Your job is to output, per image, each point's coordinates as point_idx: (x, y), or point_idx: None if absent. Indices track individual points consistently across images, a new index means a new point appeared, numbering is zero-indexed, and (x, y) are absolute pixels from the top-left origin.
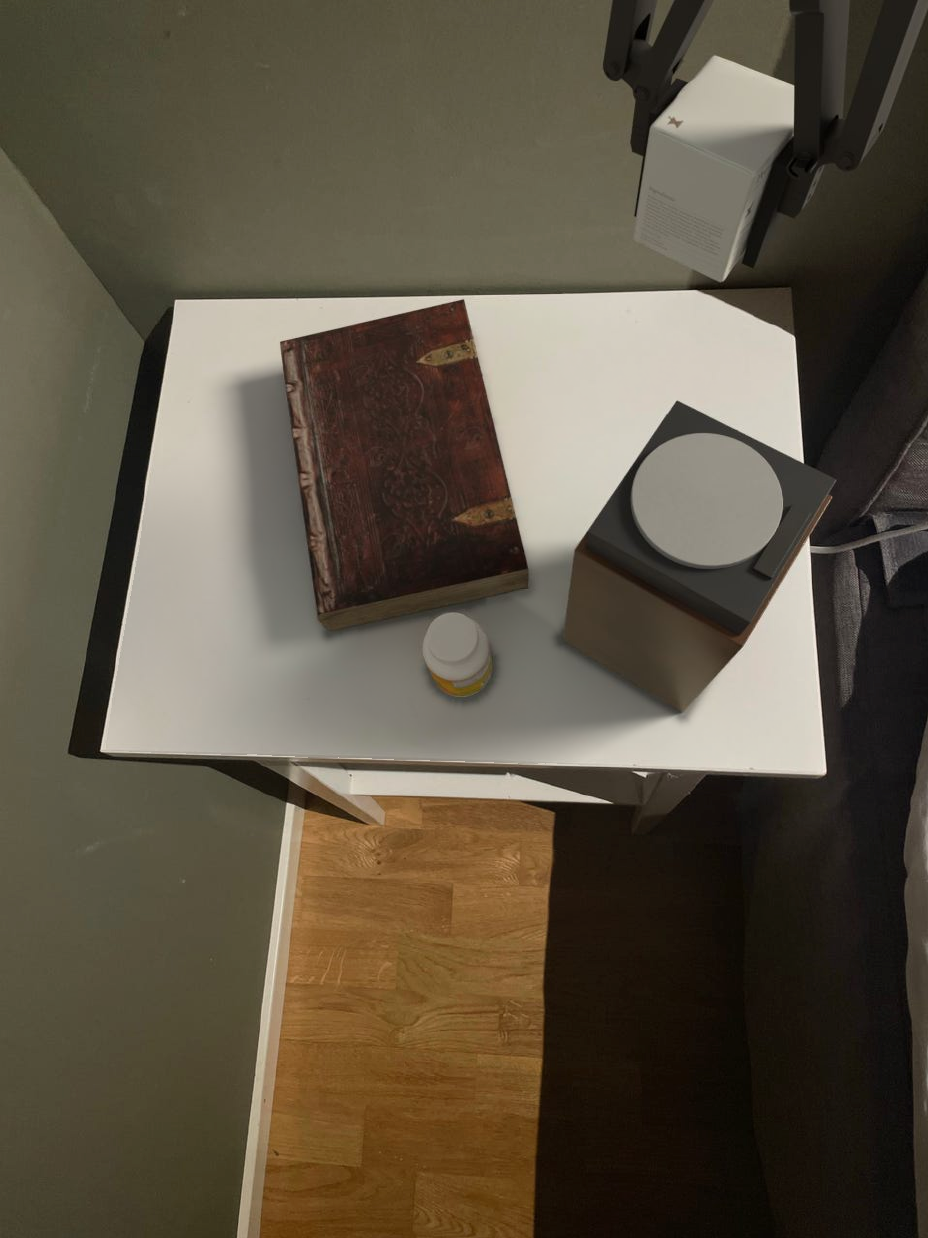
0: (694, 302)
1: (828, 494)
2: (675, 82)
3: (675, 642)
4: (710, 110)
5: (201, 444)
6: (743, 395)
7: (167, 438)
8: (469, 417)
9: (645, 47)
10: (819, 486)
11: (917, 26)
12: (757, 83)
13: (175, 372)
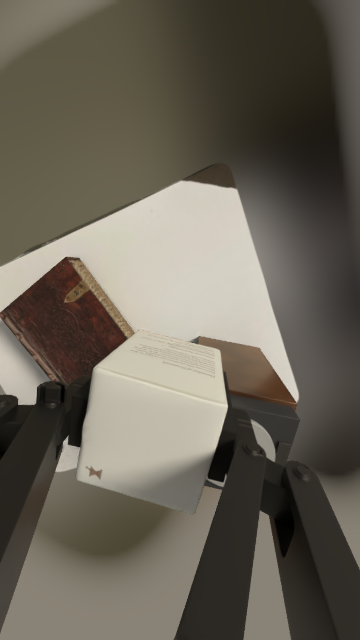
0: (183, 189)
1: (294, 403)
2: (74, 401)
3: None
4: (122, 450)
5: (3, 359)
6: (226, 241)
7: None
8: (103, 323)
9: (13, 428)
10: (291, 426)
11: None
12: (156, 403)
13: None
